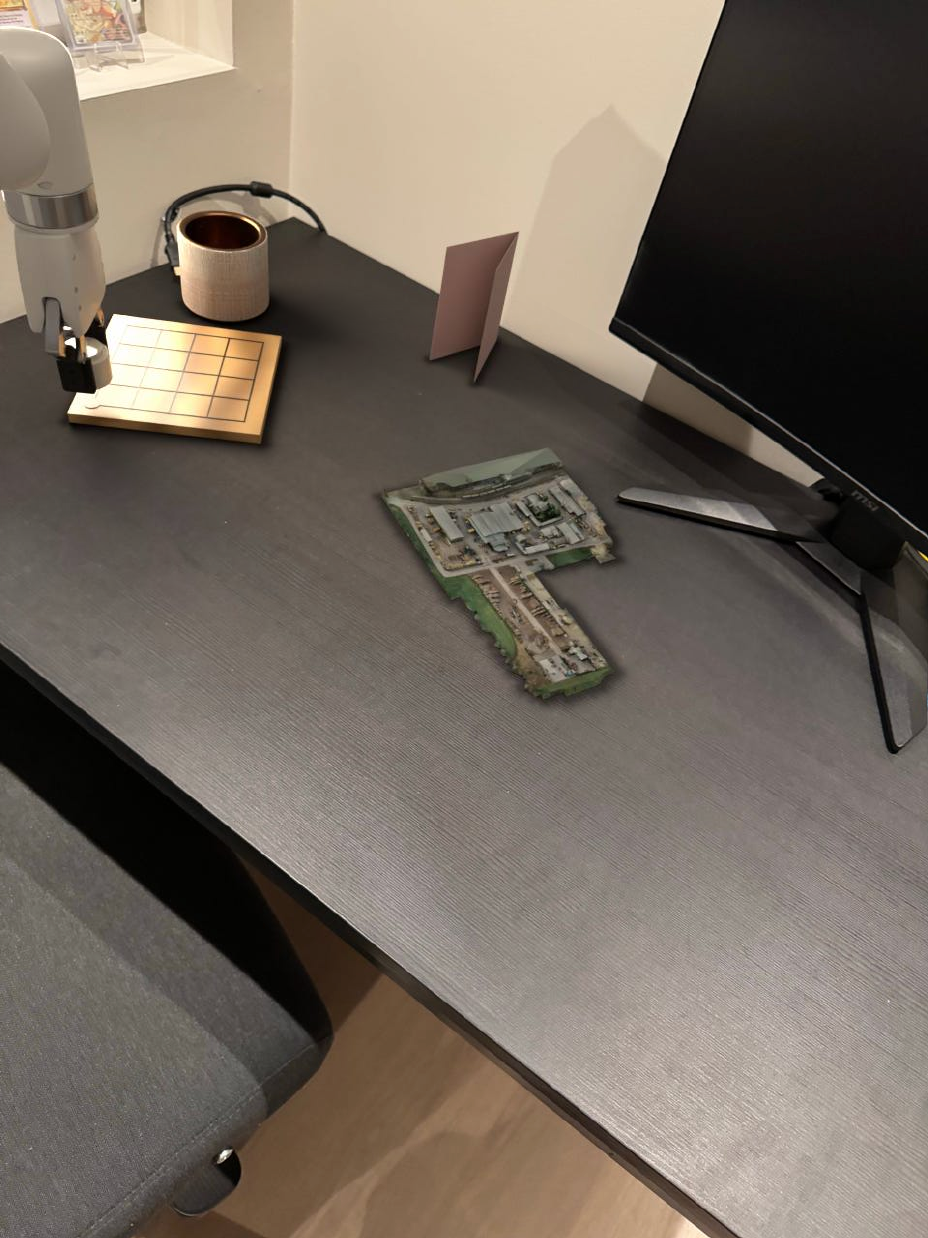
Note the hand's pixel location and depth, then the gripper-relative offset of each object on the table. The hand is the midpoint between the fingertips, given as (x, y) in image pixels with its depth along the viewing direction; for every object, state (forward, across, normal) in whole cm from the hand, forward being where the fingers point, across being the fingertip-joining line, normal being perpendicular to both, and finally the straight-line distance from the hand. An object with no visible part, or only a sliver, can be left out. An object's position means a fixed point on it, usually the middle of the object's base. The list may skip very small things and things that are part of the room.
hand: (87, 373), depth 88 cm
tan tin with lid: (0, 0, 0) cm, 0 cm away
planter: (+5, -26, +10) cm, 28 cm away
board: (+5, -8, +8) cm, 12 cm away
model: (+5, +17, +48) cm, 51 cm away
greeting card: (+5, -20, +43) cm, 48 cm away
